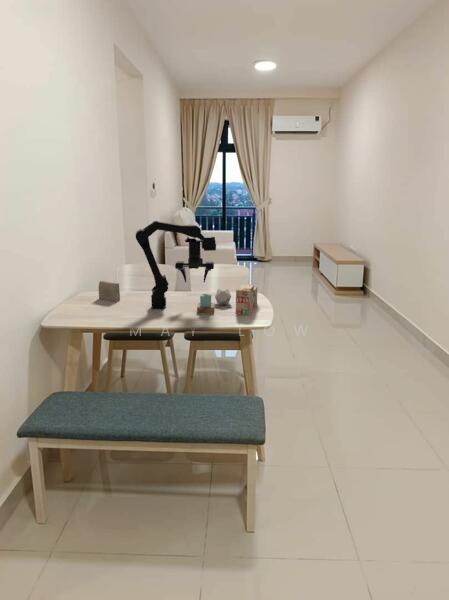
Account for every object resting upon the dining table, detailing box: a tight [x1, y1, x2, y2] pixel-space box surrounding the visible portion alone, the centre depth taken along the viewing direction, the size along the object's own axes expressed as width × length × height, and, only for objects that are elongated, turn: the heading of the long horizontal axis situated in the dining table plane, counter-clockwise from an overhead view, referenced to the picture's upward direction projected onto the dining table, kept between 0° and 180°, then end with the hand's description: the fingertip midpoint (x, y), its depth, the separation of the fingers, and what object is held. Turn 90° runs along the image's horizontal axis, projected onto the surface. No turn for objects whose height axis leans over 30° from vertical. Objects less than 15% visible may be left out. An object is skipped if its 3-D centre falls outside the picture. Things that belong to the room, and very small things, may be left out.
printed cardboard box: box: [235, 283, 258, 316], centre depth 218 cm, size 21×6×12 cm, turn 165°
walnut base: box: [196, 302, 215, 315], centre depth 215 cm, size 8×8×3 cm
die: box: [214, 288, 232, 306], centre depth 227 cm, size 8×9×10 cm
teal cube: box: [199, 293, 212, 307], centre depth 214 cm, size 5×5×5 cm
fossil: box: [98, 280, 121, 303], centre depth 233 cm, size 12×4×10 cm, turn 62°
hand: (195, 282), depth 222 cm, fingers open, 9 cm apart
